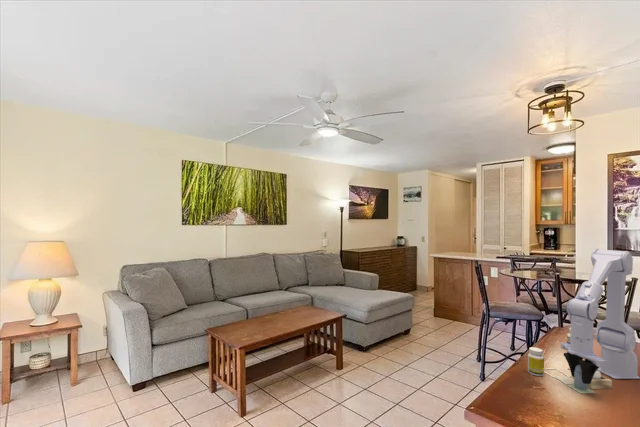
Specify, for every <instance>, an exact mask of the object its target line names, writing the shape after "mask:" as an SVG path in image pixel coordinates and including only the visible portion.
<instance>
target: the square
mask: <svg viewBox="0 0 640 427" xmlns="http://www.w3.org/2000/svg"><path fill="white" fill-rule="evenodd" d="M555 379H556V380H558V381H559V382H561V383H563V384H565V385H574V379H573V377H572V378H571V376H570V377H555Z"/></svg>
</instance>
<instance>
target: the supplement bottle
mask: <svg viewBox="0 0 640 427" xmlns="http://www.w3.org/2000/svg"><path fill="white" fill-rule="evenodd" d="M543 351H544V350H543V349H541V348H539V347H536V346H535V347H534V346H533V347H532V346H531V347H529V349H528V352H529V353H528V354H527V372H528V374H530V375H533V376H537V377H543V376H544V375H545V372H544V371H545V370H544V368H545V365H544V364H545V357H544V355H543V354H544V352H543Z"/></svg>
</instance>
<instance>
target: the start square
mask: <svg viewBox="0 0 640 427" xmlns="http://www.w3.org/2000/svg"><path fill="white" fill-rule="evenodd" d="M546 370H547V371H548V370H549V371H550V370H553V371H555V370H556V371H558V372H559V373H561V374H563V375H560V376H559V375H558V376H557V375H555V376H554V375H552V374H550V373H549V372H547V371H546ZM544 374H547V375H548V376H550V377H551V378H555V377H570V378H571V376H570V375H568V374H567V373H565V372H563V371H561V370H560V369H558V368H557V367H555V368H554V367H553V368H552V367H551V368H550V367H549V368H548V367H547V368H545V367H544ZM555 379H556V378H555Z"/></svg>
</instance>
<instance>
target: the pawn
mask: <svg viewBox="0 0 640 427" xmlns="http://www.w3.org/2000/svg"><path fill="white" fill-rule="evenodd" d="M573 380H574V384H573V385H575V386H576V387H578V388H581V389H587V388H589V387H588V384H584V383H583V381H582V371H581V367H580V365H577V366H576V367H575V370H574V379H573Z"/></svg>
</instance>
